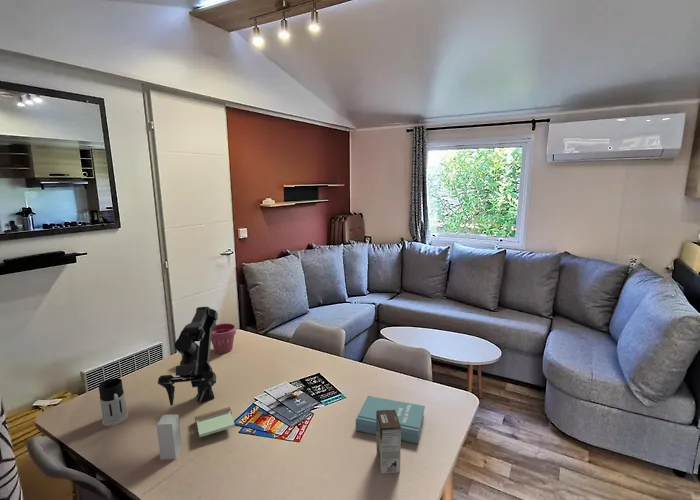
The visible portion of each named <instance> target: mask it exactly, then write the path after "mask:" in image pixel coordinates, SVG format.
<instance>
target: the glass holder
mask: <svg viewBox="0 0 700 500" xmlns="http://www.w3.org/2000/svg"><path fill="white" fill-rule="evenodd" d="M98 392H99V401H100V402H99V403H100V409H101V414H102V415H101V416H102V421H101V423H102V426H106V427H111V426H110V425H112V426H116V425H118V423H119V424H120V423H122V421H123V422H124V421H126V420H127V419H126V418H128V417H129V413H128V410H127V406H126V398H125V397H126V396H125V391H124V387H123V380H122V379H121V378H117V377H116V378H115V377H114V378H109V379H106V380H105V381H102V382H101V383H99V384H98ZM125 419H126V420H125ZM115 424H116V425H115Z"/></svg>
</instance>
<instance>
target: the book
mask: <svg viewBox="0 0 700 500" xmlns="http://www.w3.org/2000/svg"><path fill="white" fill-rule="evenodd" d="M378 410H395V411H396V414H397V417H398V420H399V423H400V426H401V441H404V442H409V443H413V444H419V442H420V439H421V433H422V430H421V429H422V428H423V425H424V420H425V415H424V412H425V405H421V404H416V403H409V402H405V401H399V400H393V399H388V398H383V397H378V396H370V395H367V397H366V399H365V401H364V402H363V404H362V407H361V408H360V411H359V413H358V415H357V416H356V419H355V431H357V432H362V433H367V434H371V435H376V436H377V421H376V411H378Z"/></svg>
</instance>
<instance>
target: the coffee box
mask: <svg viewBox="0 0 700 500" xmlns="http://www.w3.org/2000/svg"><path fill="white" fill-rule="evenodd" d="M376 421H377V435H376V457H377V462H378V467H379V472H380V473H381V474H382V475H383V474H385V475H386V474H396V473H401V445H402V443H401V441H402V440H401V426H400V423H399V420H398V417H397V414H396V411H395V410H378V411H376Z"/></svg>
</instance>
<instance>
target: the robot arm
mask: <svg viewBox="0 0 700 500" xmlns="http://www.w3.org/2000/svg"><path fill="white" fill-rule="evenodd" d="M218 320H219V313H218V312H217V310H216V309H214V308H210V307H209V306H198V307H196V310H195V314H194V316H193V318H192V320H191V322H190V323H187V324H186V325H184V327H183V329H181V332H180V333H179V336H178V338H177V339H176V340H175V342H174V348H175V350H176V351H177V352H178V353H179V354H180V355H181V359H180V361H179V364H178V365H176V366H175V376H173V375H172V374H164V375H160V376H159V377H158V378H157V379H158V380H157V385H159V386H161V387H162V388H164V389H165V390H166V393H167V395H168V402H169V404H170V406H171V407H172V406H173V405H174V398H175V389H176V388H175V386H174V385H175V383H185V382H190V383H191V386H192V387H191V388H192V389H193V388H197V390H196V391H197V393H196V400H197V403H198V404H201V403H203V402H206V401H211V400H213V399H215V394H214V391H213V386H215V384H217V374H216V373H215V372H214V371H213V367H212V366H211V365H210V355H211V344H212V342H211V333H212V330H213V328H214V327H215V326H216V325H217V321H218ZM196 342H199V344H198V343H196Z"/></svg>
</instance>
